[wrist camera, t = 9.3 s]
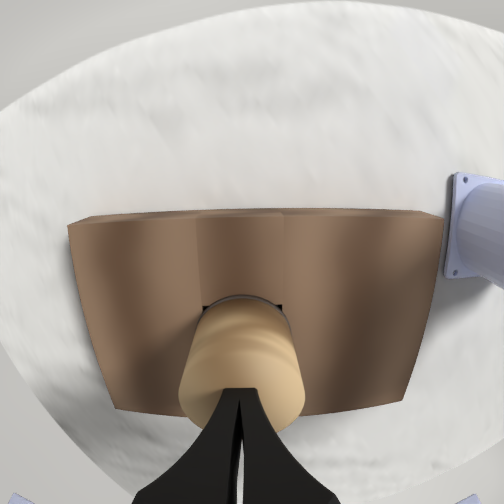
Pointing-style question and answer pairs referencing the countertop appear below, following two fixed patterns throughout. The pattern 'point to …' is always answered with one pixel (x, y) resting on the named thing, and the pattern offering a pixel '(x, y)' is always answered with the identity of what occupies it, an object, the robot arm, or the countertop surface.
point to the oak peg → (242, 360)
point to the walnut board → (259, 295)
